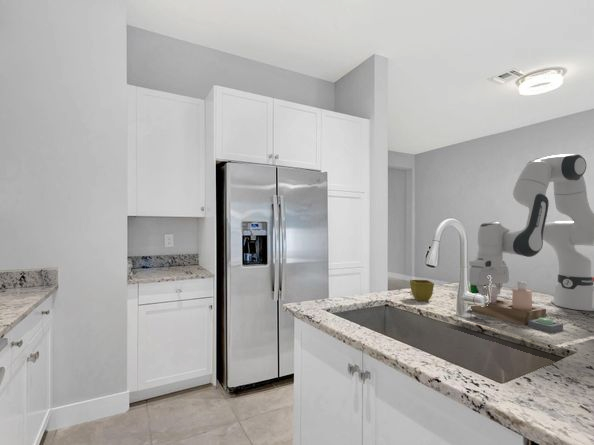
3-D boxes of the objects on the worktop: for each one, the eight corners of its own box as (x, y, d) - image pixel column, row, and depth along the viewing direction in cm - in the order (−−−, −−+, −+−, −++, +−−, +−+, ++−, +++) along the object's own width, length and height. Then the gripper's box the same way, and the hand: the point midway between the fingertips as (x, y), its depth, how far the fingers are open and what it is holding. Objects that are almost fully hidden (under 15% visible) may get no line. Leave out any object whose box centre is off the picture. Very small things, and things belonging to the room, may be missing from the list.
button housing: (540, 327, 116) (540, 318, 116) (563, 332, 109) (563, 324, 109) (528, 329, 113) (528, 320, 113) (551, 335, 106) (551, 326, 106)
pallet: (488, 309, 140) (488, 296, 140) (545, 323, 120) (546, 308, 120) (468, 312, 134) (468, 299, 134) (524, 327, 114) (524, 312, 114)
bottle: (518, 316, 125) (518, 280, 126) (535, 320, 120) (535, 282, 120) (508, 318, 123) (509, 281, 123) (525, 322, 117) (525, 283, 118)
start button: (542, 327, 114) (542, 317, 114) (555, 330, 110) (555, 320, 110) (535, 328, 112) (535, 318, 112) (548, 332, 108) (548, 321, 108)
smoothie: (498, 314, 128) (498, 278, 128) (479, 311, 132) (480, 277, 132) (498, 310, 134) (499, 276, 134) (481, 308, 137) (481, 275, 137)
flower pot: (434, 302, 152) (434, 283, 152) (415, 301, 152) (415, 282, 153) (427, 298, 161) (427, 279, 161) (409, 297, 161) (409, 279, 161)
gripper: (498, 259, 140) (498, 291, 140) (466, 261, 132) (466, 295, 131) (513, 261, 135) (513, 294, 134) (480, 263, 126) (480, 298, 126)
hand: (489, 295), depth 133 cm, fingers open, 8 cm apart
